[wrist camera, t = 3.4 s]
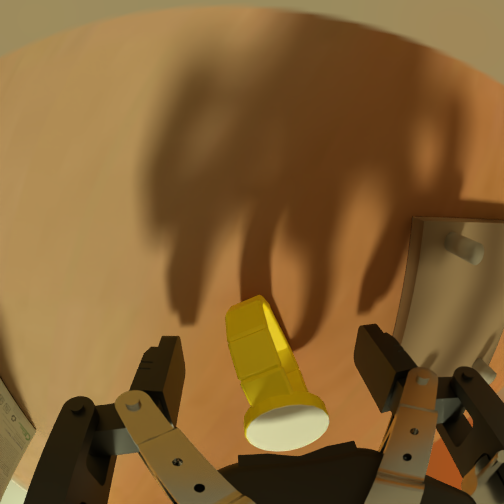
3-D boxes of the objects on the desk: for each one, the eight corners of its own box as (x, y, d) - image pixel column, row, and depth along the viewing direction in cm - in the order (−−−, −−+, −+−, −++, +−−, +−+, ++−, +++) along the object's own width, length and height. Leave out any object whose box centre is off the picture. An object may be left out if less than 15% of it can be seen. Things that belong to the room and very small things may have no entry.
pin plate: (376, 392, 16) (394, 425, 13) (412, 216, 12) (451, 232, 10) (480, 360, 16) (501, 381, 13) (519, 221, 13) (550, 232, 10)
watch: (211, 292, 13) (198, 385, 7) (269, 267, 13) (297, 349, 7) (264, 382, 15) (278, 475, 9) (313, 363, 14) (346, 452, 9)
